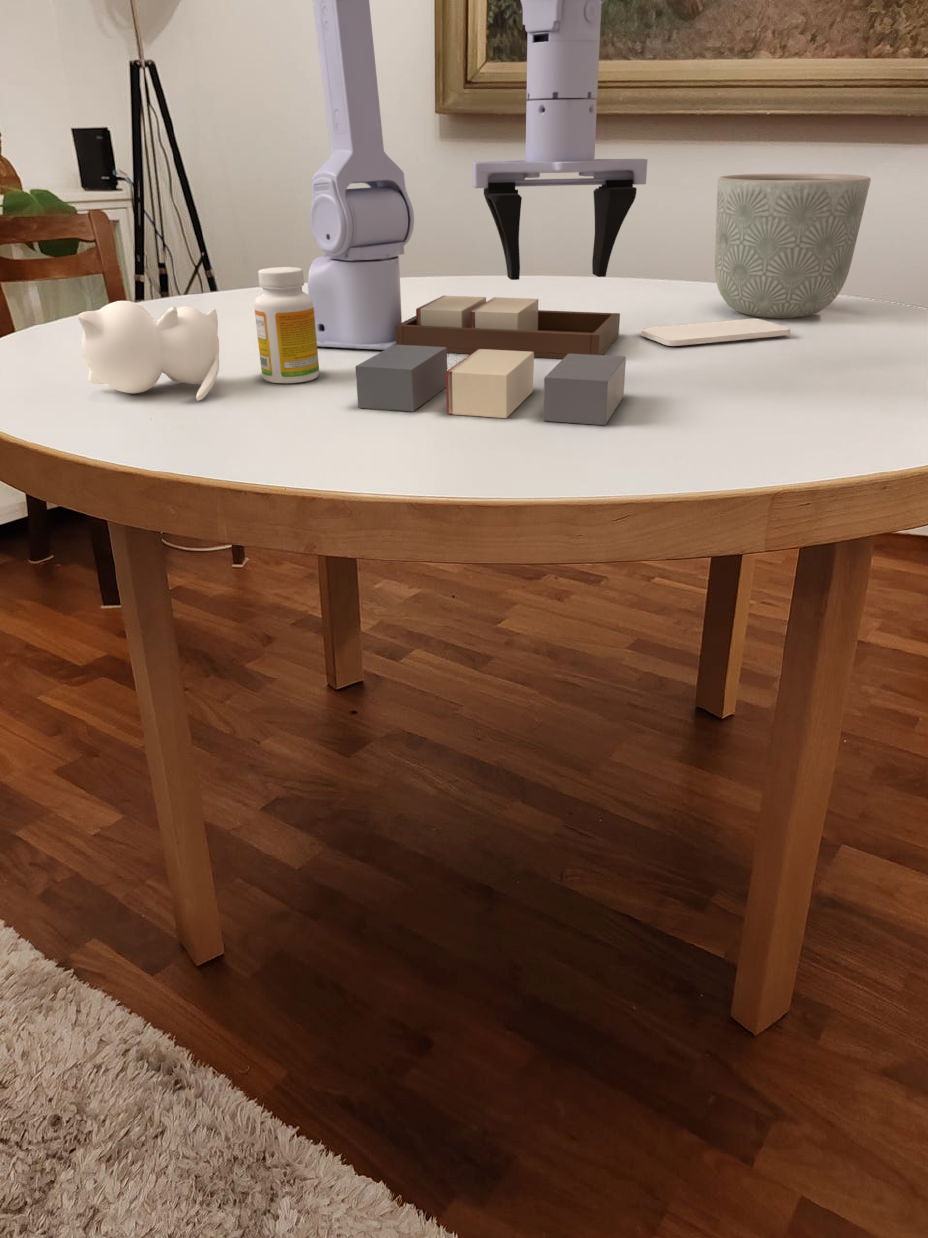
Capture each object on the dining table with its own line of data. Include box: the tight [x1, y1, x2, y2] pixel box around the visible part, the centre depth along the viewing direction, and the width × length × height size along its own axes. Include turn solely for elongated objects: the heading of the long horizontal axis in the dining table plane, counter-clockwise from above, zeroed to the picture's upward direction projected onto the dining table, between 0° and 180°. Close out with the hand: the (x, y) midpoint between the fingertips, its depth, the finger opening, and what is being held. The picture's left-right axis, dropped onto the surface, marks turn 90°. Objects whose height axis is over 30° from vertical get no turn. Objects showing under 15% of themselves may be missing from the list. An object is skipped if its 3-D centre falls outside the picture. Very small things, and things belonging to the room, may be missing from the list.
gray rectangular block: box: [355, 345, 448, 413], centre depth 82 cm, size 5×9×4 cm, turn 163°
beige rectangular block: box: [445, 349, 535, 419], centre depth 80 cm, size 5×9×4 cm, turn 163°
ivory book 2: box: [470, 296, 539, 331], centre depth 102 cm, size 5×9×4 cm, turn 163°
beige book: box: [415, 295, 487, 328], centre depth 104 cm, size 5×9×4 cm, turn 163°
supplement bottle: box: [253, 266, 320, 384], centre depth 88 cm, size 5×5×10 cm
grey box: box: [542, 354, 627, 426], centre depth 78 cm, size 5×9×4 cm, turn 163°
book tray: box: [396, 309, 621, 360], centre depth 102 cm, size 22×13×2 cm, turn 73°
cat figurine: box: [77, 300, 220, 401], centre depth 84 cm, size 9×11×12 cm
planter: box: [714, 173, 872, 319], centre depth 114 cm, size 17×17×15 cm
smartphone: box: [640, 318, 791, 347], centre depth 104 cm, size 7×1×15 cm
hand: (556, 276), depth 83 cm, fingers open, 7 cm apart
